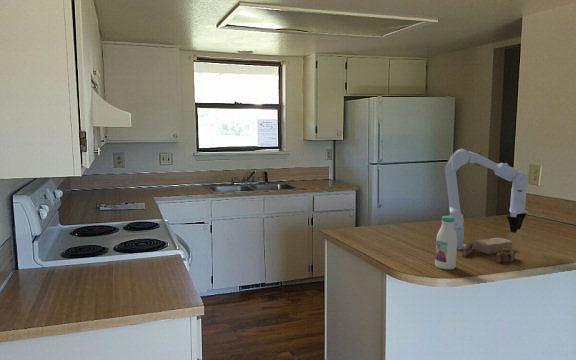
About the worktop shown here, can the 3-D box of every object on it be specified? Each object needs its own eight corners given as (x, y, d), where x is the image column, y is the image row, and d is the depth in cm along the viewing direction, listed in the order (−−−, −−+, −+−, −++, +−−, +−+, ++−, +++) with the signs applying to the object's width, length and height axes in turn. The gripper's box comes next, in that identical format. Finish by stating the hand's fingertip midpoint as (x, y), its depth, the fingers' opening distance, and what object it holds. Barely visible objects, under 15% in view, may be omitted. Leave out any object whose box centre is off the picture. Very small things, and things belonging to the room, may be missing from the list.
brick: (497, 245, 205) (497, 235, 205) (513, 250, 198) (513, 240, 197) (471, 250, 198) (471, 240, 198) (486, 255, 191) (487, 244, 190)
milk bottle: (450, 263, 178) (453, 214, 175) (458, 270, 170) (462, 219, 168) (431, 263, 178) (434, 214, 175) (439, 270, 170) (442, 218, 168)
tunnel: (462, 256, 188) (462, 248, 187) (470, 250, 196) (470, 242, 196) (508, 265, 177) (509, 256, 176) (514, 258, 186) (515, 250, 185)
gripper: (525, 203, 182) (522, 235, 184) (531, 198, 194) (529, 229, 196) (506, 201, 187) (503, 232, 189) (514, 196, 198) (511, 226, 200)
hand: (515, 230), depth 192 cm, fingers open, 7 cm apart
